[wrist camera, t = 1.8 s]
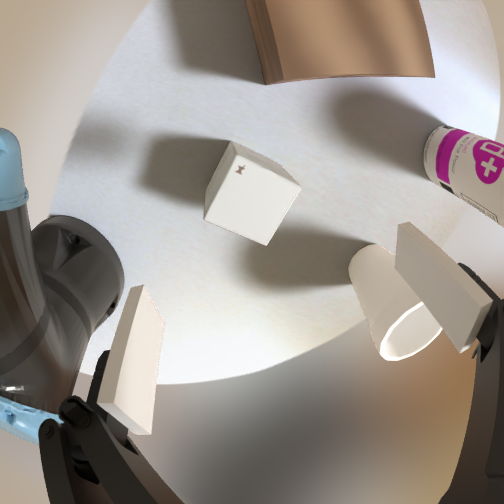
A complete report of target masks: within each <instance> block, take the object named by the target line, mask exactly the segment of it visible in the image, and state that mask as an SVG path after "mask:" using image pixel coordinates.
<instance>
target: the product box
mask: <svg viewBox="0 0 504 504" xmlns="http://www.w3.org/2000/svg"><path fill="white" fill-rule="evenodd" d="M301 189H302V187H301V186H300V185H299V183H298V182H297V181H296V180H295V179H294V178H293V177H292V176H291V175H290V174H289V173H288V172H287V171H286V170H285V169H284V168H283V167H282V165H280V164H278V163H277V162H275V161H273V160H271V159H269V158H267V157H265V156H263V155H261V154H259V153H257V152H255V151H253V150H251V149H249V148H246V147H244V146H242V145H240V144H238V143H235V142H233V141H231V142H230V143H229V145H228V147H227V149H226V151H225V153H224V155H223V156H222V158H221V160H220V162H219V164H218V166H217V168H216V170H215V172H214V174H213V176H212V178H211V180H210V183H209V185H208V187H207V189H206V192H205V203H204V217H203V219H204V221H207V222H209V223H212V224H214V225H216V226H219V227H221V228H224V229H226V230H228V231H231V232H233V233H236V234H238V235H240V236H243V237H245V238H248V239H250V240H253V241H255V242H258V243H260V244H262V245H265V246H267V244H268V243H269V241H270V240H271V238H272V236H273V235H274V233H275V231H276V230H277V228H278V226H279V225H280V223H281V221H282V220H283V218H284V216H285V215H286V213H287V211H288V210H289V208H290V206H291V205H292V203H293V202H294V200H295V198H296V197H297V195H298V194H299V192H300V190H301Z"/></svg>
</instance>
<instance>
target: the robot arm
mask: <svg viewBox="0 0 504 504" xmlns="http://www.w3.org/2000/svg"><path fill="white" fill-rule="evenodd" d="M28 198H29V195H28V191H27V189H26V187H25V184H24V177H23V169H22V160H21V149H20V145H19V142H18V140H17V138H16V136H15V135H14V134H13V133H12V132H10V131H9V130H7V129H4V128H0V428H1V429H3V430H5V431H7V432H9V433H11V434H13V435H15V436H17V437H19V438H22V439H24V440H26V441H29V442H32V443H34V444H37V445H39V447H40V454H41V462H42V467H43V473H44V478H45V483H46V488H47V492H48V497H49V501H50V504H184V503H183V502H182V501H181V500H180V499H179V498H178V497H177V495H176V494H175V493H174V492H173V491H172V490H171V489H170V488H169V487H168V485H167V484H166V483H165V482H164V481H163V480H162V479H161V477H160V476H159V475H158V474H157V473H156V471H155V470H154V469H153V468H152V466H151V465H150V464H149V463H148V461H147V460H146V459H145V458H144V456H143V455H142V454H141V452H140V451H139V450H138V448H137V447H136V446H135V444H134V443H133V441H132V440H131V439H130V438H129V437H128V436H127V434H128V429H129V430H130V431H131V432H133V433H134V434H136V435H151V430H152V419H153V408H154V399H155V390H156V382H157V374H158V366H159V359H160V352H161V345H162V338H163V332H164V326H165V323H164V321H163V319H162V317H161V316H160V314H159V312H158V310H157V308H156V307H155V305H154V303H153V301H152V299H151V297H150V295H149V293H148V291H147V290H146V288H145V286H144V285H141V286H136V287H132V288H131V289H130V292H129V295H128V297H127V300H126V303H125V306H124V309H123V312H122V315H121V318H120V321H119V324H118V327H117V330H116V333H115V337H114V340H113V343H112V346H111V350H106V351H104V352H103V353H102V355H101V356H100V358H99V359H98V362H97V365H96V368H95V370H96V371H95V372H94V375H93V379H92V382H91V386H90V390H89V394H88V397H87V401H86V402H84V401H83V400H82V399H81V398H80V397H78V396H76V395H75V396H72V393H73V389H74V386H75V382H76V379H77V376H78V373H79V369H80V366H81V363H82V360H83V357H84V354H85V351H86V348H87V345H88V342H89V340H90V337H91V335H92V334H93V333H94V332H95V331H96V329H97V328H98V327H99V326H100V325H101V324H102V323H103V322H104V321H105V320H106V319H107V318H108V317H109V316H110V315H111V314H112V313H113V312H114V310H115V309H116V307H117V305H118V303H119V300H120V298H121V295H122V292H123V289H124V272H123V268H122V264H121V262H120V259H119V257H118V255H117V253H116V251H115V250H114V248H113V247H112V245H111V244H110V243H109V241H108V240H107V239H106V238H105V237H104V236H103V235H102V234H101V233H100V232H99V231H97V230H96V229H95V228H93V227H92V226H91V225H89V224H87V223H85V222H83V221H81V220H79V219H76V218H72V217H68V216H55V217H51V218H48V219H46V220H44V221H42V222H41V223H40V224H39V225H38V226H36V227H35V228H34V229H33V230H32V231H31V228H30V223H29V218H28V211H27V204H26V202H27V200H28ZM394 268H395V269H396V270H397V271H398V273H399V274H400V275H401V276H402V277H403V279H404V280H405V281H406V282H407V283H408V285H409V286H410V287H411V288H412V290H413V291H414V292H415V293H416V295H417V296H418V297H419V298H420V300H421V301H422V302H423V303H424V305H425V306H426V307H427V309H428V310H429V311H430V312H431V314H432V315H433V316H434V318H435V319H436V320H437V322H438V323H439V324H440V326H441V327H442V329H443V330H444V331H445V333H446V334H447V335H448V337H449V338H450V340H451V341H452V342H453V344H454V345H455V347H456V348H457V350H458V351H459V353H461V352H463V351H465V350H466V349H468V348H470V347H471V346H472V345H473V343H474V341H475V339H476V338H477V339H478V340H479V344H478V346H477V348H476V349H475V351H474V353H473V355H472V358H474V357H475V355H476V353H477V362H476V373H475V384H474V391H473V398H472V404H471V410H470V415H469V420H468V425H467V430H466V434H465V438H464V442H463V447H462V450H461V454H460V457H459V461H458V464H457V467H456V470H455V473H454V476H453V479H452V482H451V485H450V487H449V489H448V491H447V492H446V493H445V494H444V496H443V497H442V498H441V500H440V502H439V503H438V504H504V299H502V300H501V299H500V298H499V297H498V296H497V295H496V294H495V293H494V292H493V291H492V290H491V289H490V288H489V287H488V286H487V285H486V284H485V283H484V282H483V281H481V279H480V277H478V276H476V274H475V273H474V272H473V271H472V270H471V269H470V268H469V267H467V266H466V265H464V264H462V263H458V264H457V263H456V262H455V261H454V260H453V259H451V258H450V257H449V256H448V255H447V254H446V253H445V252H444V251H443V250H442V249H441V248H439V247H438V246H437V245H436V244H435V243H434V242H433V241H432V240H430V239H429V238H428V237H427V236H426V235H425V234H423V233H422V232H421V231H420V230H419V229H417V228H416V227H415V226H414V225H413V224H411V223H410V222H407V223H403V224H399V225H398V233H397V246H396V257H395V267H394Z"/></svg>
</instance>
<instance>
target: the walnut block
mask: <svg viewBox="0 0 504 504" xmlns="http://www.w3.org/2000/svg"><path fill="white" fill-rule="evenodd" d="M245 3H246V6H247V10H248V14H249V18H250V22H251V26H252V30H253V34H254V38H255V42H256V46H257V50H258V54H259V59H260V63H261V68H262V72H263V76H264V81H265V85H271V84H277V83H284V82H292V81H301V80H310V79H322V78H337V77H431V78H435V71H434V65H433V59H432V53H431V48H430V43H429V38H428V33H427V29H426V25H425V21H424V17H423V13H422V9H421V6H420V3H419V0H245Z"/></svg>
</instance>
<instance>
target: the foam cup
mask: <svg viewBox="0 0 504 504" xmlns="http://www.w3.org/2000/svg"><path fill="white" fill-rule="evenodd" d="M395 257H396V256H395V255H394V254H393V253H391V252H390V251H389V250H387V249H385V248H384V247H382V246H380V245H378V244H374V245H367V246H366V247H364V248H362V249H360V250H359V251H358V252H357V253H356V254H355V255H354V256H353V258H352V259H351V261H350V264H349V267H348V271H349V277H350V280H351V282H352V285H353V287H354V289H355V292H356V294H357V297H358V299H359V302H360V304H361V307H362V310H363V312H364V315H365V317H366V320H367V322H368V325H369V328H370V331H371V333H372V337H371V338H372V340H373V342H374V344H375V346H376V348H377V350H378V352H379V353H380V355H381V356H382V357H383V358H384V359H385V360H395V361H396V360H397V361H398V360H401V359H404V358H407V357H409V356H412V355H414V354H415V353H417V352H419V351H420V350H422V349H423V348H425V347H426V346H427V345H428V344H429V343H430V342H431V341H433V340H434V339H435V338H436V337H437V336H438V335H439V333H440V332H441V330H442V327H441V326H440V324H439V323H438V322H437V320H436V319H435V318H434V316H433V315H432V314H431V312H430V311H429V310H428V309H427V307H426V306H425V305H424V303H423V302H422V301H421V300H420V298H419V297H418V296H417V295H416V293H415V292H414V291H413V290H412V288H411V287H410V286H409V285H408V283H407V282H406V281H405V280H404V279H403V277H402V276H401V275H400V274H399V273H398V271H397V270H396V269H395V268H394V267H395Z"/></svg>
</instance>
